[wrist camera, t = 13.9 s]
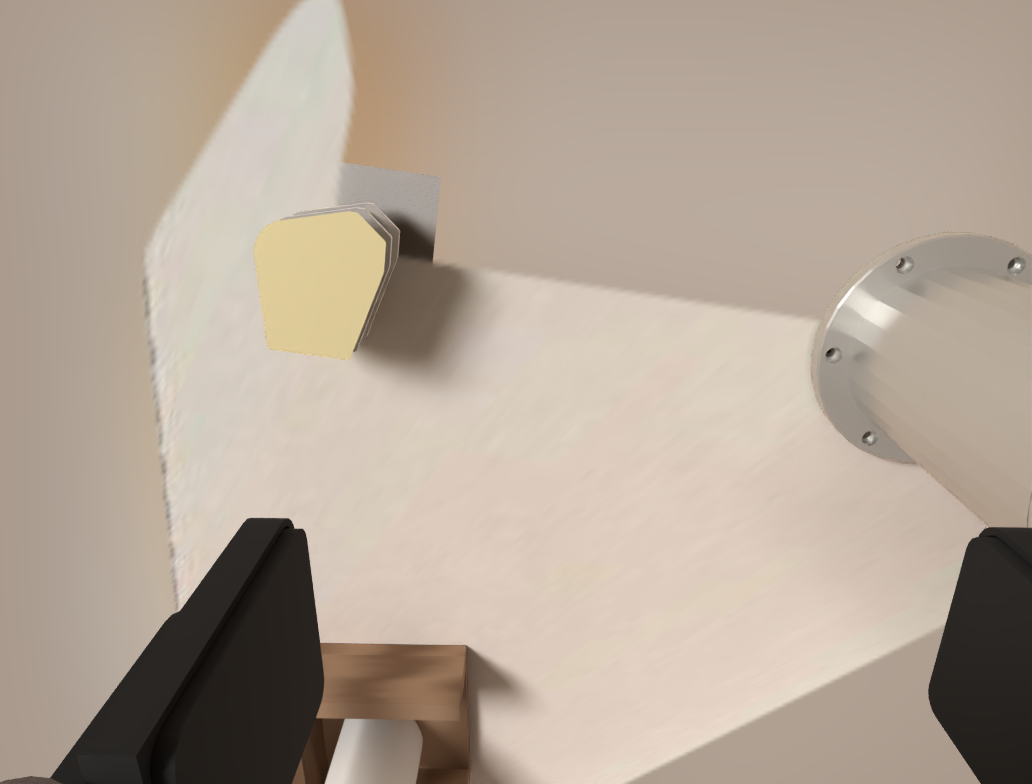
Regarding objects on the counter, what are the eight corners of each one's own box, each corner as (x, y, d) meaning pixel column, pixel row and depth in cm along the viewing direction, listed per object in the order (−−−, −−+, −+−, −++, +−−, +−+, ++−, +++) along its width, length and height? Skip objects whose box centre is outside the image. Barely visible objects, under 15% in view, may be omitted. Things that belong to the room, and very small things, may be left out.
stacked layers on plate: (423, 361, 39) (406, 397, 34) (262, 339, 39) (221, 372, 34) (441, 176, 35) (425, 186, 30) (264, 150, 35) (218, 156, 30)
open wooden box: (466, 645, 46) (458, 705, 41) (470, 769, 50) (463, 836, 45) (299, 643, 46) (273, 701, 41) (316, 766, 50) (294, 832, 45)
